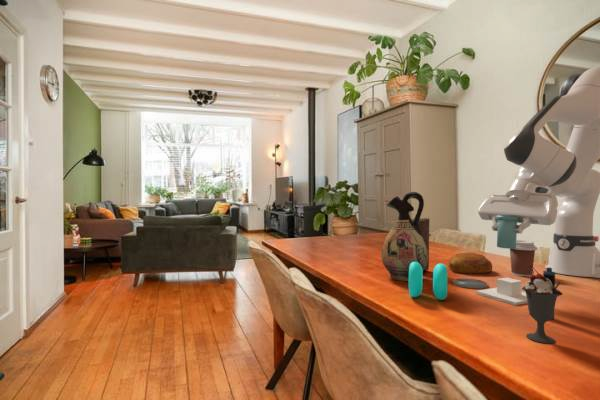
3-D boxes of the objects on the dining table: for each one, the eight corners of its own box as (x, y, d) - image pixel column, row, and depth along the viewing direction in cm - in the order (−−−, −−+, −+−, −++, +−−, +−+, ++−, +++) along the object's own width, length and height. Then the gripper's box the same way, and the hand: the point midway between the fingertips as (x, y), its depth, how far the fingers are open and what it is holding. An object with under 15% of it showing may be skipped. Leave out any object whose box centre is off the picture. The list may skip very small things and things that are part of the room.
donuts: (447, 305, 95) (447, 267, 95) (408, 301, 98) (408, 264, 98) (445, 294, 104) (446, 260, 104) (410, 291, 108) (410, 258, 107)
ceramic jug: (377, 281, 120) (378, 191, 119) (384, 271, 134) (385, 191, 133) (431, 286, 113) (432, 192, 113) (433, 275, 128) (434, 191, 127)
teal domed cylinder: (504, 245, 106) (505, 214, 106) (521, 248, 101) (522, 216, 101) (491, 246, 104) (492, 215, 104) (508, 249, 99) (510, 217, 99)
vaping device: (550, 320, 83) (551, 269, 83) (527, 313, 88) (528, 265, 88) (557, 318, 85) (558, 268, 84) (533, 312, 89) (534, 264, 89)
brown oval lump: (497, 280, 129) (501, 259, 129) (454, 274, 130) (458, 253, 129) (478, 270, 144) (482, 251, 143) (440, 265, 144) (443, 245, 144)
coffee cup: (504, 274, 129) (504, 241, 129) (510, 270, 136) (511, 239, 136) (534, 278, 123) (534, 244, 123) (539, 274, 130) (539, 241, 129)
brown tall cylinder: (430, 273, 131) (430, 219, 130) (409, 272, 132) (409, 218, 132) (427, 269, 138) (427, 217, 138) (407, 268, 140) (407, 217, 139)
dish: (467, 279, 122) (467, 277, 122) (494, 286, 113) (494, 284, 113) (446, 282, 118) (446, 280, 118) (472, 290, 109) (472, 287, 109)
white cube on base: (503, 288, 110) (503, 273, 110) (543, 299, 100) (544, 282, 99) (476, 293, 105) (476, 277, 105) (515, 305, 94) (515, 287, 94)
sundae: (513, 332, 76) (514, 263, 76) (543, 331, 77) (544, 262, 76) (536, 346, 70) (538, 269, 69) (568, 345, 70) (570, 269, 70)
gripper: (484, 188, 115) (467, 220, 109) (559, 189, 98) (542, 227, 93) (491, 201, 117) (474, 233, 112) (564, 205, 101) (549, 242, 95)
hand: (505, 230), depth 102 cm, fingers closed on teal domed cylinder, 5 cm apart
